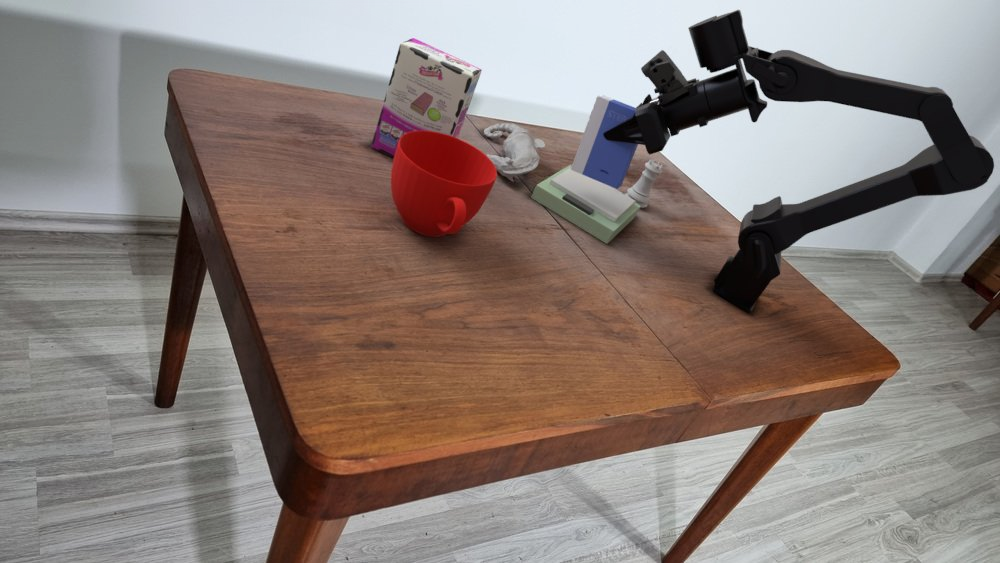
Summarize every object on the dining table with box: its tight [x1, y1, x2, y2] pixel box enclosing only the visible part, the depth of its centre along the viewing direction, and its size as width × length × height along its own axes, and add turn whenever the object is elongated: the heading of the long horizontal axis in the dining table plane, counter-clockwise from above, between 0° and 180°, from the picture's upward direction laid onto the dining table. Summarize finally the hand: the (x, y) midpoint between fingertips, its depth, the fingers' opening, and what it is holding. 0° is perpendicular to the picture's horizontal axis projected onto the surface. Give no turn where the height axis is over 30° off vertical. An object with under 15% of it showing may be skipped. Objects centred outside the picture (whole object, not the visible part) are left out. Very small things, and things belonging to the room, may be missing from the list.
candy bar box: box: [370, 37, 483, 159], centre depth 102 cm, size 11×5×16 cm, turn 73°
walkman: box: [571, 95, 639, 190], centre depth 106 cm, size 8×3×12 cm, turn 63°
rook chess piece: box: [624, 158, 664, 209], centre depth 122 cm, size 4×4×8 cm
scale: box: [530, 164, 641, 245], centre depth 114 cm, size 14×14×3 cm
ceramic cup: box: [390, 131, 498, 238], centre depth 89 cm, size 13×17×10 cm
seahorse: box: [483, 122, 546, 183], centre depth 118 cm, size 5×12×20 cm
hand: (606, 134), depth 106 cm, fingers closed on walkman, 2 cm apart
